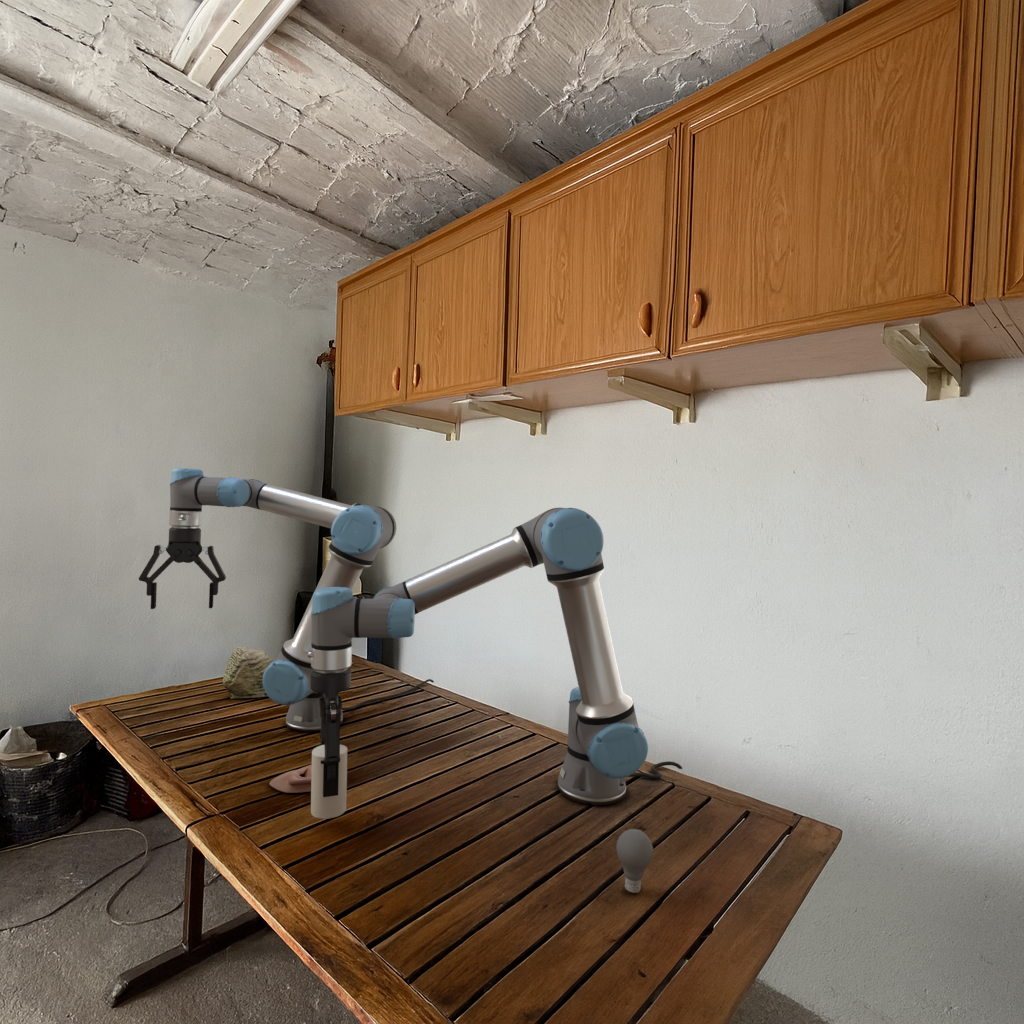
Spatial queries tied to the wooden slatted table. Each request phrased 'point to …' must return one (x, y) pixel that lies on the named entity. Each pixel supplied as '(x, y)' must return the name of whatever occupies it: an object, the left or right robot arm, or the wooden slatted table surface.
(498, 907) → the wooden slatted table surface
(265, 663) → the fossil
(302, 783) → the anatomical model
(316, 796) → the canister
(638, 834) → the light bulb
